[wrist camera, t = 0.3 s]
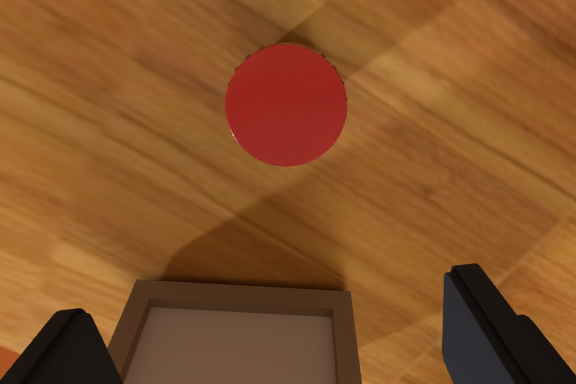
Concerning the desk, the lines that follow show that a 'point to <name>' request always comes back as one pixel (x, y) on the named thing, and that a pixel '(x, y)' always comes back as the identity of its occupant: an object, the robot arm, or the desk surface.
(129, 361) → the photo frame
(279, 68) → the jam lid
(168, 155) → the desk surface
